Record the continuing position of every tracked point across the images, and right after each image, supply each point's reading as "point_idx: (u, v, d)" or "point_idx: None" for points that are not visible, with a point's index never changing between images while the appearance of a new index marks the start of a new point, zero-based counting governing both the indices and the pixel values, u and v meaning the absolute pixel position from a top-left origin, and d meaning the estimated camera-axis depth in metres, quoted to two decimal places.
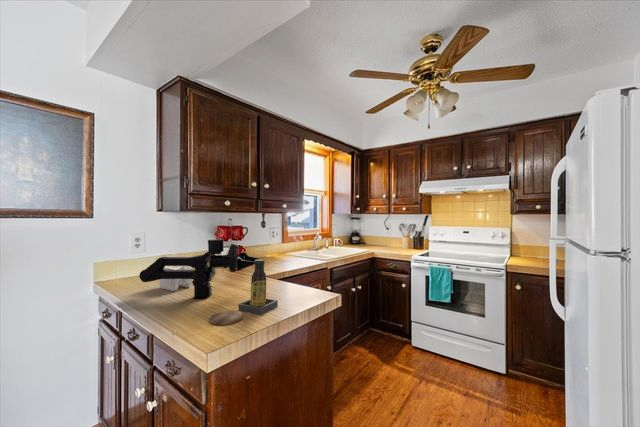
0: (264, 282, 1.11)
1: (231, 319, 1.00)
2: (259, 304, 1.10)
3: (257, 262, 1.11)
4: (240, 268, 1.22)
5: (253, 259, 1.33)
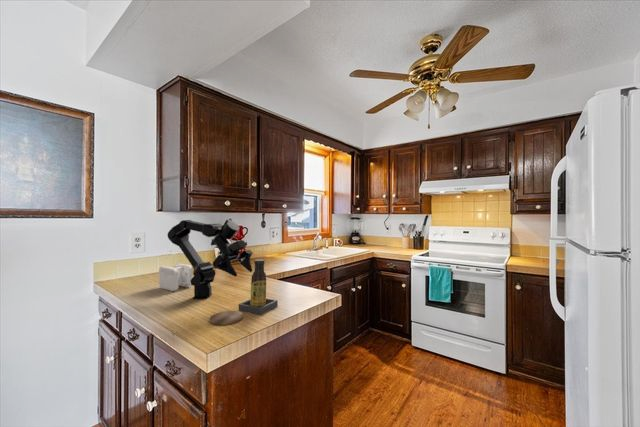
0: (264, 282, 1.11)
1: (231, 319, 1.00)
2: (259, 304, 1.10)
3: (257, 262, 1.11)
4: (222, 268, 1.13)
5: (248, 266, 1.21)
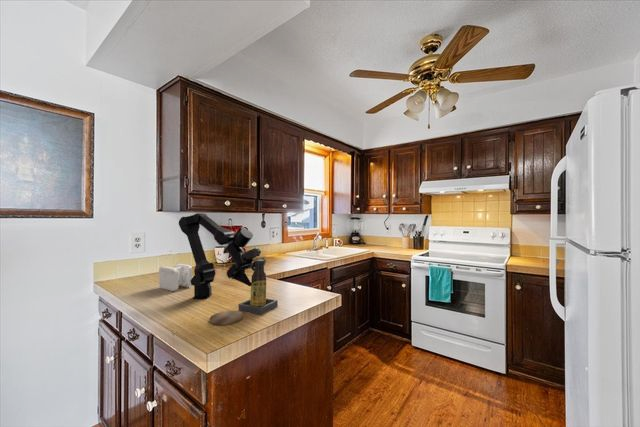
0: (264, 282, 1.11)
1: (231, 319, 1.00)
2: (259, 304, 1.10)
3: (257, 262, 1.11)
4: (236, 278, 1.10)
5: None
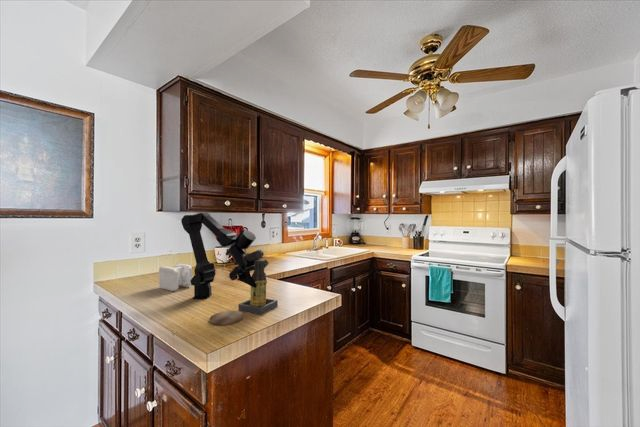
0: (264, 282, 1.11)
1: (231, 319, 1.00)
2: (259, 304, 1.10)
3: (257, 262, 1.11)
4: (241, 280, 1.10)
5: None
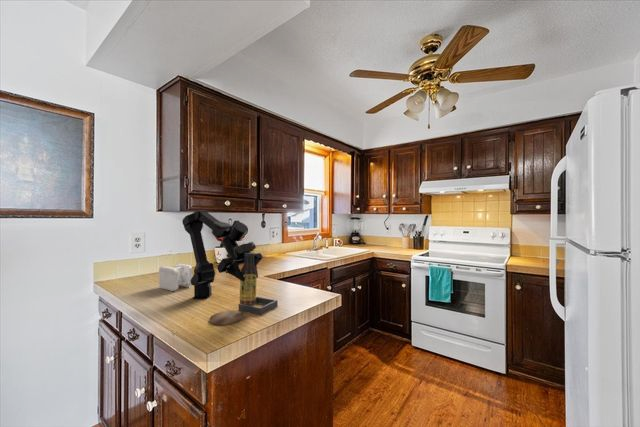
0: (253, 276, 1.06)
1: (231, 319, 1.00)
2: (247, 298, 1.05)
3: (246, 255, 1.07)
4: (230, 272, 1.07)
5: None
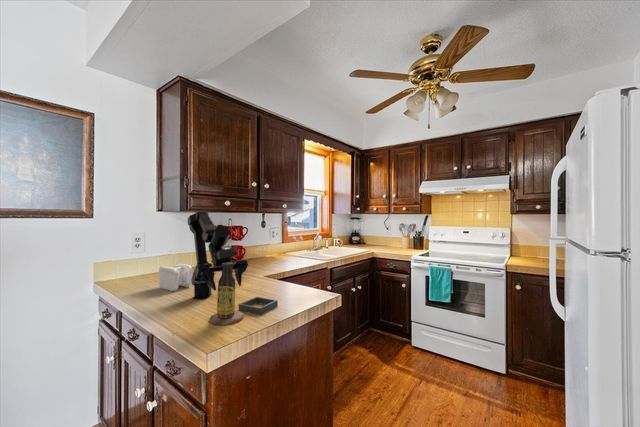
0: (229, 288, 1.00)
1: (231, 319, 1.00)
2: (222, 312, 0.99)
3: (222, 265, 1.00)
4: (205, 280, 1.01)
5: (238, 279, 1.05)
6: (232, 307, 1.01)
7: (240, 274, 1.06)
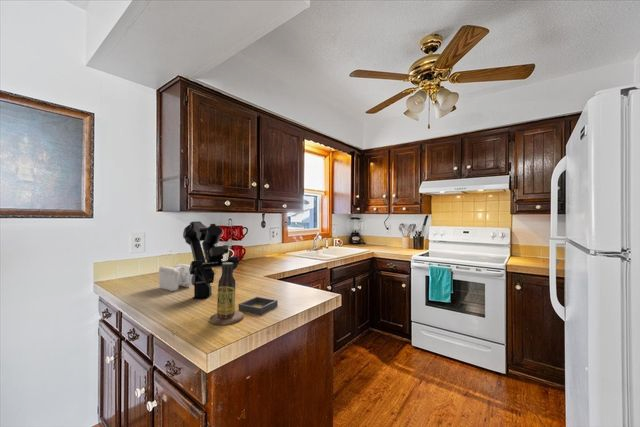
0: (229, 288, 1.00)
1: (231, 319, 1.00)
2: (222, 312, 0.99)
3: (222, 265, 1.00)
4: (198, 275, 1.09)
5: None
6: (232, 307, 1.01)
7: None
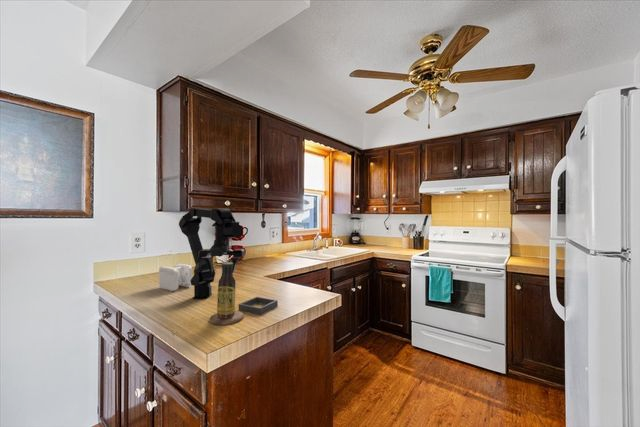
0: (229, 288, 1.00)
1: (231, 319, 1.00)
2: (222, 312, 0.99)
3: (222, 265, 1.00)
4: None
5: None
6: (232, 307, 1.01)
7: (233, 264, 1.19)
